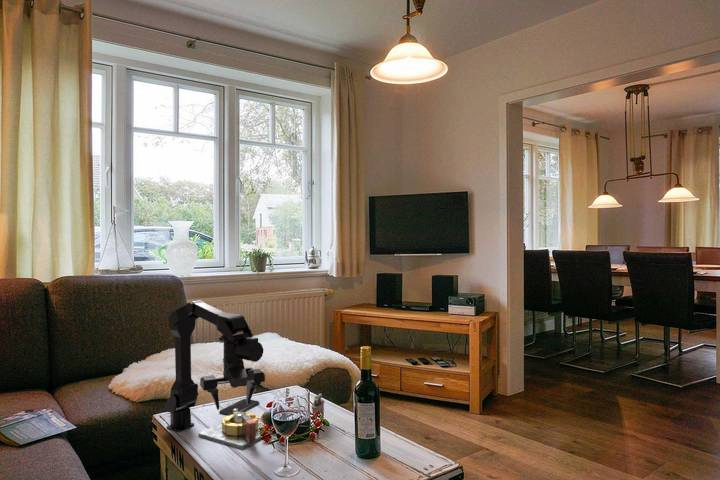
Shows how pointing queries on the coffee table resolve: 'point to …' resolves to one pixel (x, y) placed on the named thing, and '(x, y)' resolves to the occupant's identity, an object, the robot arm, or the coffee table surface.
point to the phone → (239, 407)
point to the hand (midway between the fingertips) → (233, 406)
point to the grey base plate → (232, 440)
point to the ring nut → (241, 427)
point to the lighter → (318, 405)
